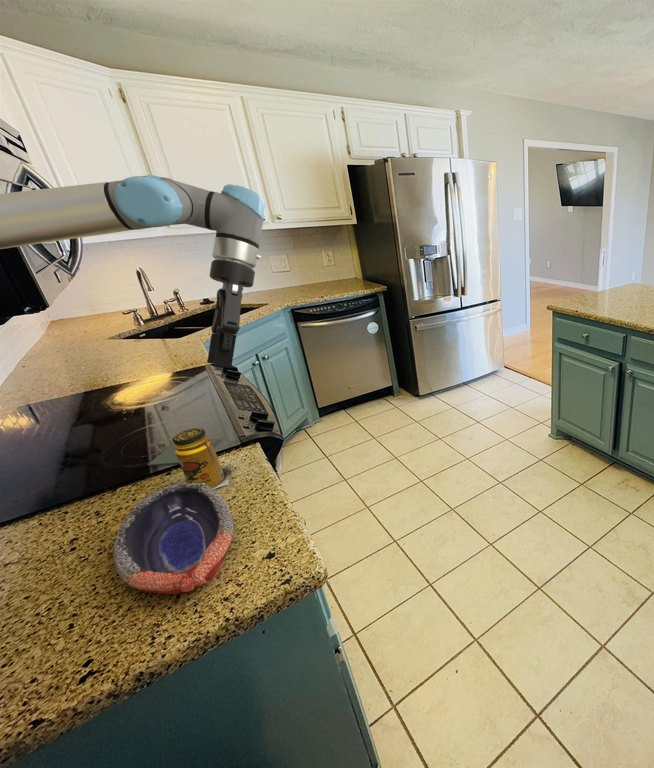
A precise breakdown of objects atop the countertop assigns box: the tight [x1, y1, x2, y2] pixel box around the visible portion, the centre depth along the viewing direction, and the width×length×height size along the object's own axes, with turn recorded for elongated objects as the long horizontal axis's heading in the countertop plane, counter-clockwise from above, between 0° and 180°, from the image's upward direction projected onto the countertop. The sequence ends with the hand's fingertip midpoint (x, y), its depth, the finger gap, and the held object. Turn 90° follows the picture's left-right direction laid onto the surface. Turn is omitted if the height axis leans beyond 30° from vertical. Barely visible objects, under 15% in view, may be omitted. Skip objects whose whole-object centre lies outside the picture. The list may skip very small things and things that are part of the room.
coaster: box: [147, 437, 220, 467], centre depth 96 cm, size 10×10×1 cm
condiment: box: [172, 427, 230, 490], centre depth 84 cm, size 7×8×12 cm
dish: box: [112, 482, 235, 595], centre depth 68 cm, size 16×31×5 cm, turn 41°
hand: (218, 365), depth 84 cm, fingers open, 13 cm apart
